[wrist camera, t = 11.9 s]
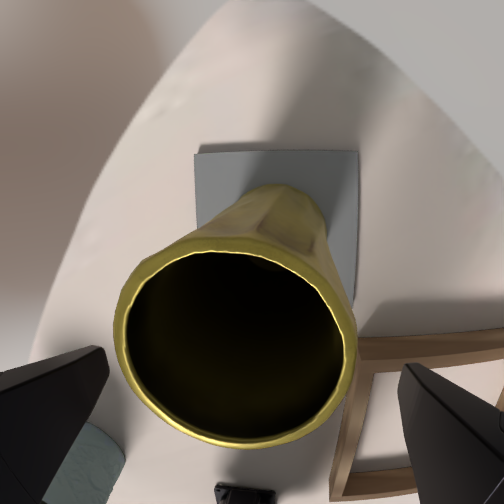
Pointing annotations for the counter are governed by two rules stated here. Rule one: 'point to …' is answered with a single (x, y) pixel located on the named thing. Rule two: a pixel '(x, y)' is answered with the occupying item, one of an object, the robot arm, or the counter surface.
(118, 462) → the grey-blue cup
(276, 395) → the vase
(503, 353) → the wooden frame
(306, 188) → the slate mat
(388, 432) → the counter surface
